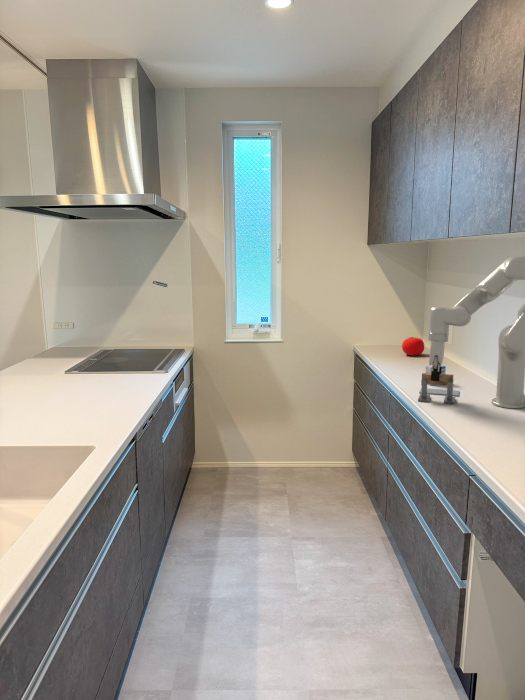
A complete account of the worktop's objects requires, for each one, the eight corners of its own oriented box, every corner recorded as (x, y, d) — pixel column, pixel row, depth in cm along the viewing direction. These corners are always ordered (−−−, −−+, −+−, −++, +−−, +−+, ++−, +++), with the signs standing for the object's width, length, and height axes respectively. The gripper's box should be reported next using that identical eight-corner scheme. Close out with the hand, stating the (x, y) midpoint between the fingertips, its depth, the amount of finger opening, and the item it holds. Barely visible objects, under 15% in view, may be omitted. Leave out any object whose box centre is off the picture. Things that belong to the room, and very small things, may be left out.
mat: (459, 391, 211) (459, 390, 211) (458, 396, 204) (458, 395, 203) (421, 388, 217) (421, 387, 217) (419, 393, 210) (419, 392, 210)
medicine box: (430, 385, 223) (431, 367, 221) (425, 383, 227) (425, 365, 226) (445, 384, 225) (446, 366, 223) (439, 382, 229) (440, 364, 228)
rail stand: (455, 399, 199) (456, 378, 198) (454, 404, 192) (455, 382, 191) (420, 396, 205) (420, 376, 204) (418, 401, 198) (418, 380, 196)
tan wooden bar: (453, 384, 196) (453, 374, 196) (452, 385, 194) (453, 376, 193) (422, 382, 201) (422, 372, 201) (421, 383, 199) (421, 374, 198)
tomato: (426, 356, 290) (427, 338, 288) (403, 357, 291) (404, 338, 289) (421, 353, 302) (421, 335, 300) (399, 353, 303) (399, 335, 301)
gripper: (430, 333, 203) (428, 373, 207) (426, 339, 188) (424, 382, 191) (449, 334, 200) (447, 374, 204) (446, 341, 185) (444, 383, 188)
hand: (436, 378), depth 197 cm, fingers open, 9 cm apart
